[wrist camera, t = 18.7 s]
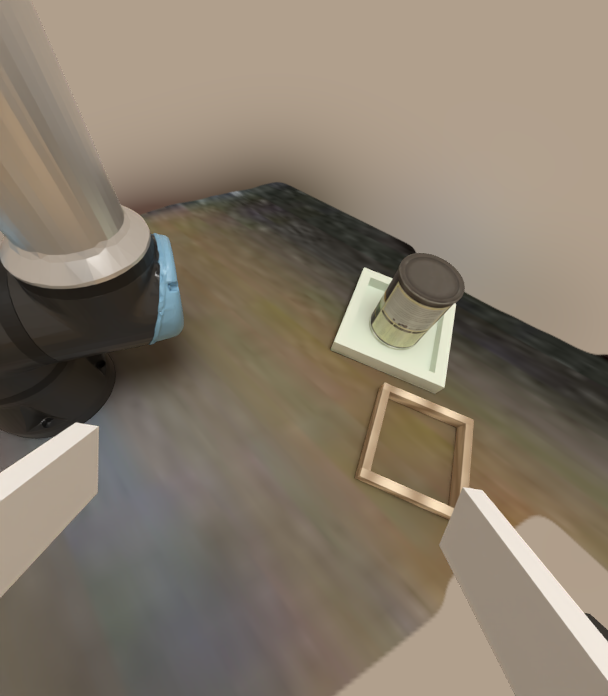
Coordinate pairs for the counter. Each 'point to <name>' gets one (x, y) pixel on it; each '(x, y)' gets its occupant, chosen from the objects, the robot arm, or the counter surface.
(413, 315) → the coffee can
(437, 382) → the tray
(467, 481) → the collar
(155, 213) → the counter surface
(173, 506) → the counter surface
